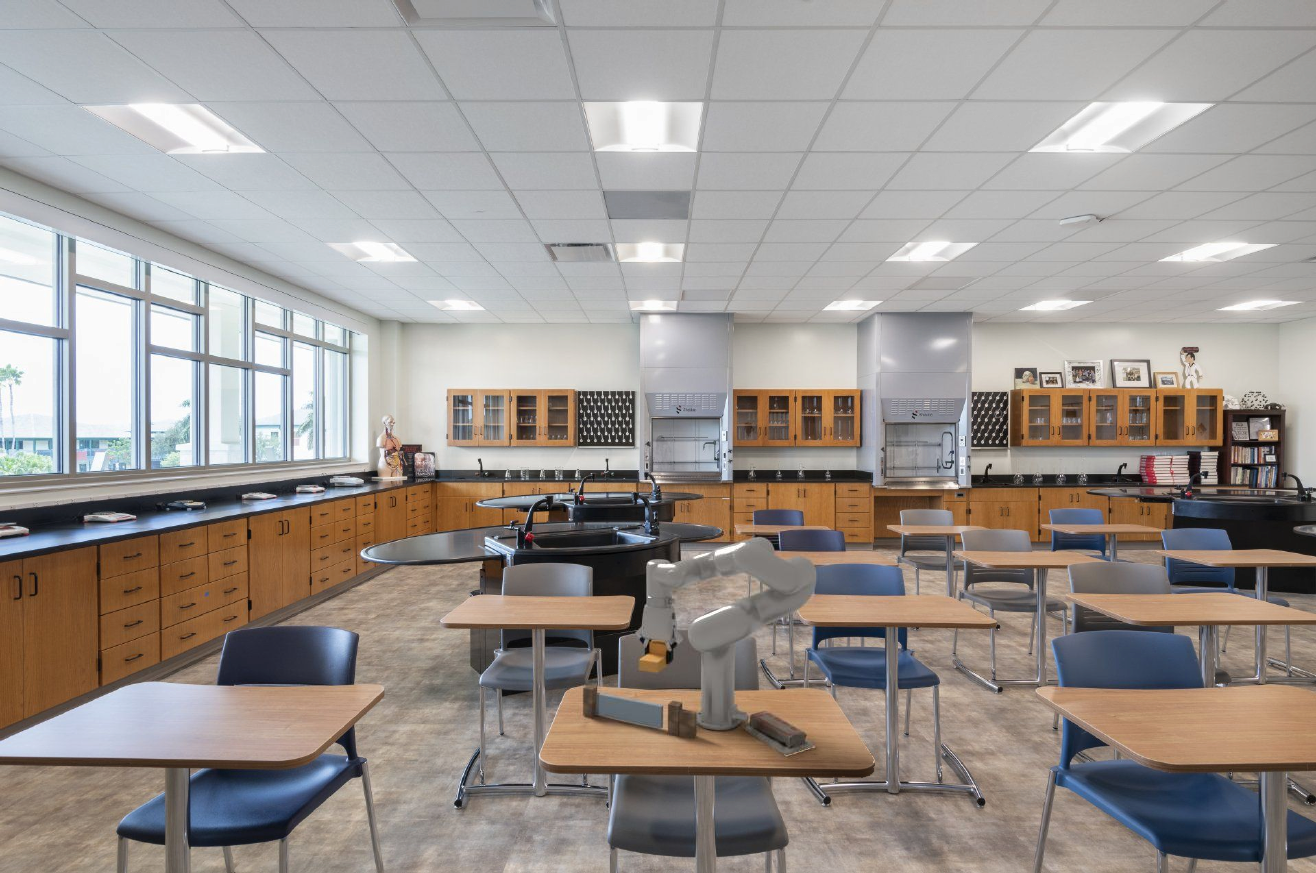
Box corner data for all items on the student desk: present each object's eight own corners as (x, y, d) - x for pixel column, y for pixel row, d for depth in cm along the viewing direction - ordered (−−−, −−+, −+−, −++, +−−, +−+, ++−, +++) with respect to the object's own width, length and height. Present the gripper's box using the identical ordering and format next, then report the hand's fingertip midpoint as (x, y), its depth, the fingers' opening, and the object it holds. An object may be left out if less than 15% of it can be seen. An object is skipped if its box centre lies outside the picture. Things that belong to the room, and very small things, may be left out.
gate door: (595, 714, 183) (595, 693, 183) (597, 713, 184) (597, 692, 184) (661, 728, 174) (661, 706, 174) (663, 727, 175) (663, 705, 175)
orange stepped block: (655, 658, 194) (654, 639, 195) (672, 661, 192) (672, 641, 192) (638, 669, 184) (638, 649, 185) (657, 672, 182) (657, 651, 182)
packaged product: (743, 713, 175) (771, 706, 180) (743, 731, 175) (771, 723, 180) (786, 739, 159) (816, 731, 164) (786, 758, 159) (816, 749, 164)
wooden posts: (697, 734, 171) (697, 705, 172) (693, 739, 169) (693, 709, 169) (588, 711, 186) (588, 684, 186) (582, 715, 184) (583, 687, 184)
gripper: (690, 601, 190) (690, 661, 190) (639, 596, 198) (639, 653, 197) (680, 607, 183) (680, 669, 183) (627, 601, 191) (627, 661, 190)
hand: (658, 660), depth 190 cm, fingers closed on orange stepped block, 6 cm apart
